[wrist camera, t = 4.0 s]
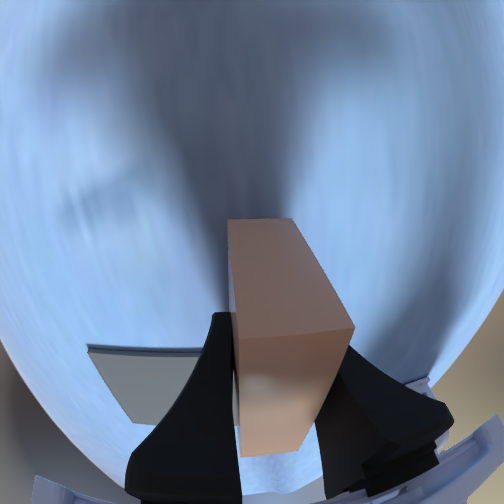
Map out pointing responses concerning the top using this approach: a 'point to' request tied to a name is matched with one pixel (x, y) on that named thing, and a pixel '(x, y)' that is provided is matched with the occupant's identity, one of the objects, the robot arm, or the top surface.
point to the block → (280, 334)
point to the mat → (146, 380)
